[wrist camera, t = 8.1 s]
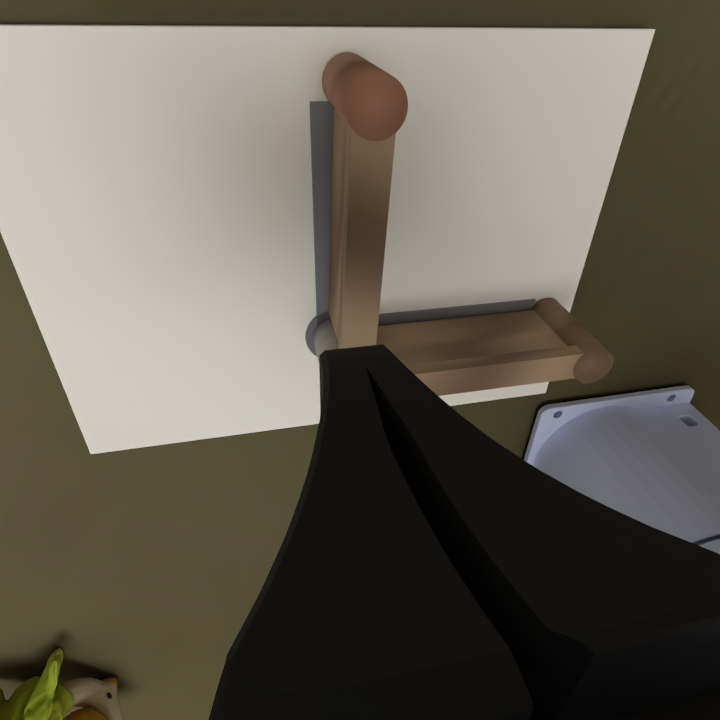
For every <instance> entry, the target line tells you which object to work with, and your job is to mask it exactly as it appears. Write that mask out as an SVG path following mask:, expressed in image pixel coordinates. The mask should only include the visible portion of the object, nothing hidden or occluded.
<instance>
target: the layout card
mask: <svg viewBox="0 0 720 720" xmlns="http://www.w3.org/2000/svg"><path fill="white" fill-rule="evenodd" d="M654 32H655V29H649V28H519V27H361V26H204V25H47V24H0V232H1V235H2V237H3V239H4V242H5V244H6V247H7V249H8V252H9V254H10V257H11V259H12V262H13V264H14V267H15V269H16V271H17V274H18V276H19V279H20V281H21V284H22V286H23V289H24V291H25V294H26V296H27V299H28V301H29V303H30V306H31V308H32V311H33V313H34V316H35V318H36V321H37V323H38V326H39V328H40V331H41V333H42V335H43V338H44V340H45V343H46V345H47V348H48V350H49V353H50V355H51V358H52V360H53V363H54V365H55V367H56V370H57V372H58V375H59V377H60V380H61V382H62V385H63V387H64V390H65V392H66V395H67V397H68V399H69V402H70V404H71V407H72V409H73V412H74V414H75V417H76V419H77V422H78V424H79V427H80V429H81V431H82V434H83V436H84V439H85V441H86V444H87V446H88V449H89V451H90V454H96V453H104V452H111V451H119V450H126V449H133V448H141V447H148V446H156V445H163V444H171V443H178V442H185V441H193V440H200V439H208V438H215V437H223V436H230V435H237V434H245V433H252V432H260V431H267V430H275V429H282V428H289V427H297V426H304V425H312V424H319V421H320V414H321V412H320V371H319V362H318V358H317V354H316V350H315V346H314V342H313V332H314V330H315V328H316V326H317V325H318V324H319V323H320V322H321V321H322V320H324V319H326V318H328V317H330V315H329V312H328V311H329V275H330V238H331V202H332V165H333V129H334V107H333V105H332V104H331V103H330V102H329V101H328V99H327V98H326V96H325V94H324V91H323V87H322V76H323V72H324V69H325V67H326V65H327V63H328V62H329V61H330V60H331V59H332V58H333V57H334V56H336V55H338V54H340V53H344V52H351V53H355V54H358V55H359V56H361V57H363V58H364V59H366V60H367V61H369V62H371V63H372V64H374V65H376V66H377V67H379V68H380V69H382V70H384V71H385V72H387V73H389V74H390V75H392V76H393V77H395V78H396V79H397V80H399V82H400V83H401V84H402V85H403V87H404V89H405V91H406V94H407V99H408V111H407V115H406V118H405V121H404V123H403V125H402V126H401V128H400V129H399V130H398V131H397V132H396V136H395V147H394V158H393V168H392V179H391V190H390V201H389V211H388V222H387V233H386V244H385V254H384V265H383V276H382V287H381V297H380V308H379V319H378V326H383V325H393V324H403V323H413V322H423V321H432V320H442V319H452V318H462V317H472V316H481V315H491V314H501V313H511V312H520V311H530V310H531V308H532V307H533V306H534V305H535V302H537V301H538V300H540V299H543V298H554V299H556V300H557V301H558V302H559V303H560V304H561V305H562V306H563V307H564V308H565V309H566V310H567V311H568V312H569V313H570V310H571V307H572V304H573V300H574V297H575V294H576V291H577V287H578V284H579V281H580V277H581V274H582V271H583V267H584V264H585V261H586V257H587V254H588V251H589V247H590V244H591V241H592V237H593V234H594V231H595V228H596V224H597V221H598V218H599V214H600V211H601V208H602V204H603V201H604V198H605V194H606V191H607V188H608V184H609V181H610V178H611V174H612V171H613V168H614V164H615V161H616V158H617V155H618V151H619V148H620V145H621V141H622V138H623V135H624V131H625V128H626V125H627V121H628V118H629V115H630V111H631V108H632V105H633V101H634V98H635V95H636V92H637V88H638V85H639V82H640V78H641V75H642V72H643V68H644V65H645V62H646V58H647V55H648V52H649V48H650V45H651V42H652V38H653V35H654ZM548 383H549V382H542V383H535V384H527V385H519V386H512V387H504V388H496V389H489V390H481V391H473V392H465V393H458V394H450V395H442V396H439V397H440V398H441V399H442V400H443V401H444V402H446V403H447V404H448V405H449V406H453V405H460V404H468V403H475V402H483V401H490V400H497V399H505V398H512V397H520V396H527V395H535V394H542V393H546V390H547V387H548Z"/></svg>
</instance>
